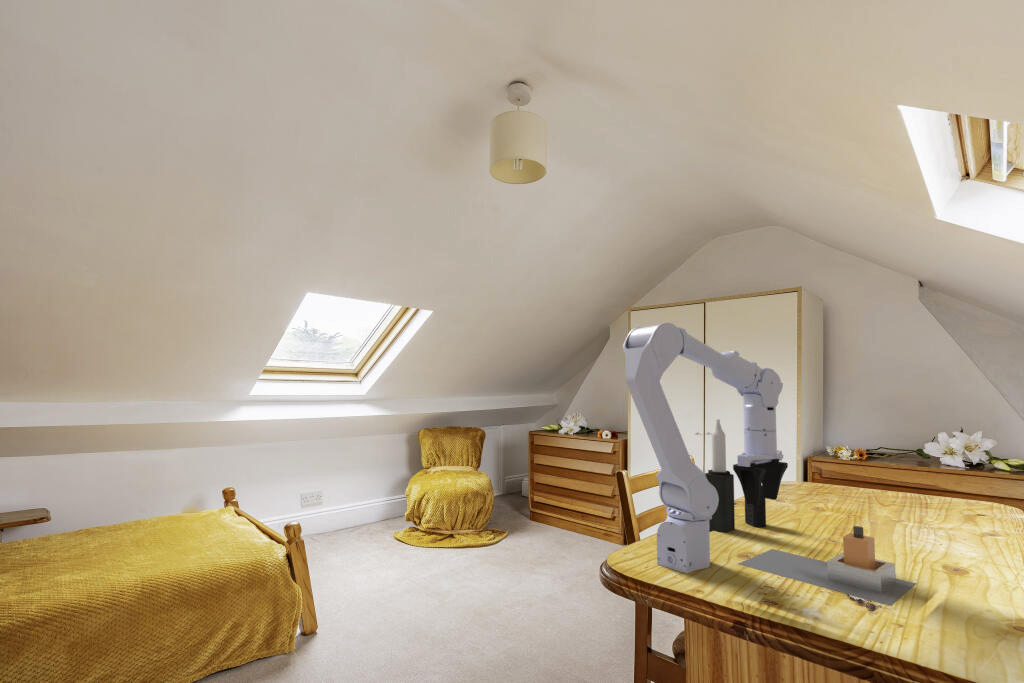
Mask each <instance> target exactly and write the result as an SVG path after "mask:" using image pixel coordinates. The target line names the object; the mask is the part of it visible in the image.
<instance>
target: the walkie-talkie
mask: <svg viewBox="0 0 1024 683" xmlns="http://www.w3.org/2000/svg"><path fill="white" fill-rule="evenodd" d="M756 466H757V465H756ZM757 468H758V467H757ZM766 503H767V502H766V498H764V494H763V488H762V484H761V492H760V501H759V505H752V504H747V503H746V500H745V499H744V521H745V522H744V523H745V524H748V525H749V526H752V527H755V528H766V527H767V515H766V514H767V509H766V508H767V506H766V505H767V504H766Z"/></svg>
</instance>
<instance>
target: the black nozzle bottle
mask: <svg viewBox="0 0 1024 683" xmlns="http://www.w3.org/2000/svg"><path fill="white" fill-rule="evenodd" d="M715 421H716V423H715V426H714V429H713V431H712V433H711V469H707V471H708V472H704V473H705V475H706V478H707V480H708V481H709V483H710V484H712V485H713V486H714V487H715V489H716V490H717V493H718V497H719V503H718V507H717V509H716V511H715V513H714V514H713V515H712V519H709V533H711V532H719V533H722V534H723V533H725V534H726V533H729V532H731V531H732V532H733V531H735V530H736V527H735V526H736V523H735V522H736V520H735V518H736V517H735V482H734V481H735V480H734V479H735V478H734V477H735V476H734V475H735V474H733V473H731V471H729V470H727V457H726V456H727V453H726V452H727V450H726V433H725V432H724V430H723V428H722V425H721V420H720V419H719V418H717V419H716V420H715Z"/></svg>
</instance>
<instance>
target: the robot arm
mask: <svg viewBox="0 0 1024 683" xmlns="http://www.w3.org/2000/svg"><path fill="white" fill-rule="evenodd" d="M621 349H622V351H623V353H624V355H625V356H624V357H625V381H626V385H627V387H628V390H629V393H630V395H631V397H632V400H633V403H634V404H635V407H636V410H637V413H638V415H639V417H640V420H641V422H642V425H643V427H644V431H646V434H647V438H648V439H649V441H650V445H651V447H652V449H653V451H654V454H655V456H656V459H657V461H658V463H659V466H660V470H659V472H658V473H656V479H657V483H658V487H659V488H658V495H659V499H660V501H661V502H662V504H663V505H664V506H665V512H666V513H667V514H666V518H665V520H664V521H663V522H661V523H660V524H659V526H658V527H657V531H656V563H657V565H659V566H661V567H665V568H667V569H672V570H675V571H677V572H681V573H684V574H689V573H692V572H694V571H698V570H702V569H708V568H709V567H710V566H711V553H710V552H711V550H710V549H711V546H710V545H711V542H710V538H711V537H710V533H711V532H709V519H712V515H713V514H714V513H715V511H716V509H717V507H718V503H719V497H718V493H717V490H716V489H715V487H714V486H713V485H712V484H710V483H709V481H708V480H707V478H706V475H705V473H706V472H704V471H703V470H702V469H701V468H699V467H698V466H697V465H696V463H695V462H693V461H692V458H691V457H690V454H689V452H688V448H687V447H686V445H685V441H684V440H683V439H684V438H683V437H682V433H681V431H680V429H679V426H678V424H677V421H676V420H675V417H674V414H673V412H672V409H671V406H670V405H669V404H670V403H669V402H668V399H667V397H666V395H665V392H664V390H663V387H662V384H661V382H660V381H661V379H662V376H663V374H664V373H665V372H666V370H667V369H668V368H669V367H670V366H671V365H672V364H673V362H674V361H675V360H676V358H677V357H678V356H681V357H683V358H685V359H687V360H690V361H692V362H695V363H697V364H699V365H701V366H703V367H705V368H708V369H710V370H711V374H712V376H713V378H715V379H717V380H719V381H721V382H723V383H725V384H727V385H729V386H731V387H733V388H735V389H736V391H737V392H738V394H739V395H740V396H742V400H743V437H744V438H743V441H744V442H743V444H744V445H743V446H744V451H743V452H742V453H740V454H737V457H736V458H737V463H735V464H732V469H733V471H734V473H735V475H736V477H737V478H738V480H739V483H740V485H741V490H742V492H743V496H744V501H745V500H746V503H747V504H752V505H759V501H760V492H761V485H762V488H763V494H764V498H765V499H767V500H775V501H776V500H778V499H777V498H778V495H779V491H780V487H781V483H782V479H783V477H784V475H785V472H786V470H787V469H788V467H789V464H788V462H786V461H785V462H783V459H784V454H783V451H782V450H778V447H777V445H778V444H777V443H778V441H777V410H776V409H777V408H776V407H777V406H778V404H779V396H780V394H782V390H783V388H784V386H783V385H784V382H782V380H781V377H780V375H779V374H778V373H777V372H776V371H775V370H773V369H772V368H768V367H767V368H764V367H760V366H759V365H758V363H757V362H755V361H749V360H747V359H745V358H743V357H741V356H740V352H739V351H737V350H730V351H729V350H725V351H722V352H719V351H717V350H715V349H714V348H713V347H711V346H709V345H707V344H705V343H704V342H702V341H701V340H699V339H698V338H696V337H694V336H692V335H691V334H689V333H688V332H687V330H686V329H685V328H682V327H679V326H677V325H676V324H673V323H671V322H663V323H659V324H656V325H650V326H645V327H643V326H642V327H635V328H632V329H631V330H629V332H628V334H627V336H626V338H625V339H624V342H623V344H622V348H621ZM756 465H757V466H756ZM757 467H758V468H757Z"/></svg>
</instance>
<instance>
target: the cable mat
mask: <svg viewBox="0 0 1024 683" xmlns="http://www.w3.org/2000/svg"><path fill="white" fill-rule="evenodd" d="M737 565H740V566H743V567H747V568H751V569H754V570H758V571H762V572H764V573H765V572H766V573H768V574H771V575H776V576H780V577H784V578H787V579H791V580H794V581H798V582H801V583H805V584H809V585H813V586H816V587H820V588H824V589H827V590H831V591H835V592H838V593H843V594H845V595H849V596H853V597H857V598H859V599H864V600H866V601H867V600H868V601H870V602H875V603H878V604H882V605H886V606H889V607H891V606H892V605H893V604H895V603H896V602H897V601H898V600H899V599H900V598H902V597H903V596H904V595H906V594H907V592H909V591H910V590H911V589H912V588H913V587H914V586H915V585H916V584H917V582H913V581H908V580H905V579H904V580H903V579H900V578H896V583H895V584H893V585H892V586H891V587H889V588H888V589H887V590H886V591H884V592H883V593H882V594H881V593H877V592H873V591H869V590H865V589H862V588H858V587H854V586H850V585H846V584H842V583H839V582H835V581H831V580H828V566H827V561H824V560H820V559H817V558H812V557H807V556H804V555H799V554H796V553H791V552H786V551H782V550H778V549H774V548H772V549H769V550H767V551H764V552H762V553H759V554H757V555H754V556H752V557H750V558H747V559H745V560H743V561H741V562H739V563H737Z"/></svg>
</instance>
